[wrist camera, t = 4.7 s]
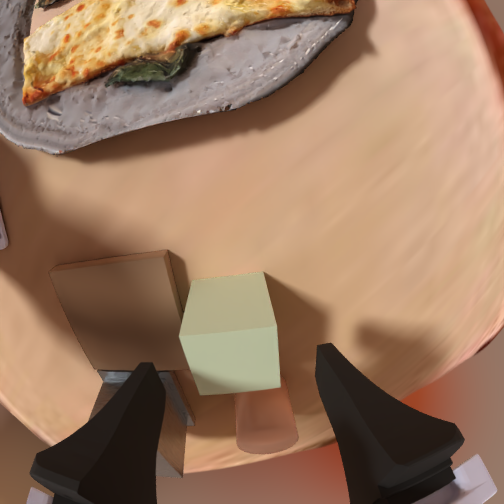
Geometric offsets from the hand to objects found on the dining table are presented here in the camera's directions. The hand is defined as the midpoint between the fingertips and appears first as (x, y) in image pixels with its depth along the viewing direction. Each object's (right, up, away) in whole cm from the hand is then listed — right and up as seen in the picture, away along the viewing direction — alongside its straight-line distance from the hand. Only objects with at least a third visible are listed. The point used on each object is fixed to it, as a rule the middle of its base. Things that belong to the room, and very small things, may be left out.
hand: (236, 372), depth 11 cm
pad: (-7, +1, +5) cm, 9 cm away
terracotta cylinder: (+1, -5, +8) cm, 10 cm away
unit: (-8, -6, +8) cm, 12 cm away
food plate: (-6, +22, -3) cm, 23 cm away
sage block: (0, +2, +5) cm, 5 cm away
